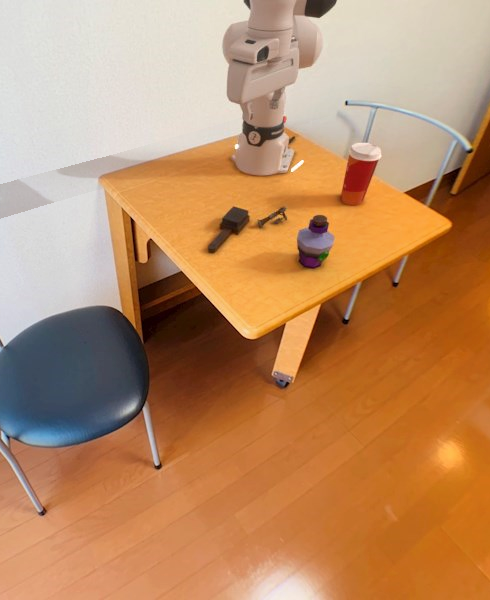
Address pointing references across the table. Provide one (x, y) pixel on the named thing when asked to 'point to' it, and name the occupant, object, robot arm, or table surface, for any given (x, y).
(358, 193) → the coffee cup
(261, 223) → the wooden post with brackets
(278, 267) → the table surface
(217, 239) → the mallet
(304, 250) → the potion bottle
